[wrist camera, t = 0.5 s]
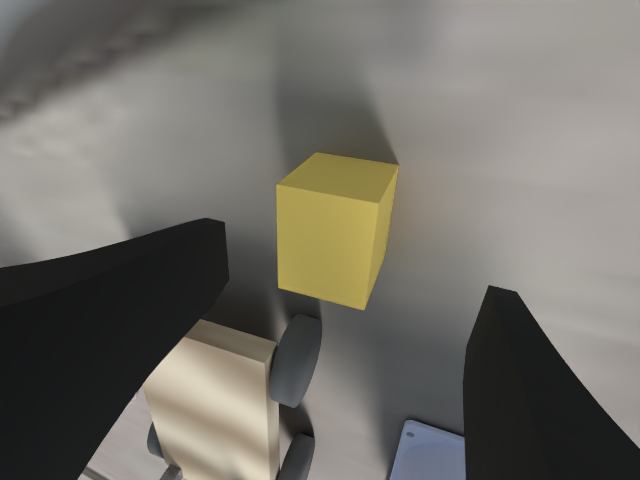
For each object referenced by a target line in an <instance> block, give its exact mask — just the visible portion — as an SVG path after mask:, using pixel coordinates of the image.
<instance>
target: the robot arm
mask: <svg viewBox="0 0 640 480" xmlns="http://www.w3.org/2000/svg"><path fill="white" fill-rule="evenodd" d="M228 281H229V271H228V259H227V247H226V234H225V222H222V221H217V220H213V219H209V218H203V219H198V220H194V221H190V222H186V223H183V224H179V225H176V226H173V227H169V228H166V229H163V230H160V231H156V232H153V233H150V234H147V235H143V236H140V237H137V238H134V239H130V240H127V241H123V242H119V243H116V244H112V245H109V246H105V247H101V248H98V249H94V250H91V251H87V252H82V253H78V254H74V255H70V256H65V257H60V258H55V259H50V260H46V261H40V262H35V263H29V264H22V265H16V266H9V267H3V268H0V480H77V479H78V478H79V476H80V475H81V473H82V472H83V470H84V469H85V467H86V465H87V464H88V462H89V461H90V459H91V458H92V456H93V455H94V453H95V452H96V450H97V448H98V447H99V445H100V444H101V442H102V441H103V439H104V438H105V436H106V435H107V434H108V432H109V431H110V429H111V428H112V426H113V425H114V423H115V422H116V421H117V419H118V418H119V416H120V415H121V413H122V412H123V410H124V409H125V408H126V406H127V405H128V404H129V402H130V401H131V400H132V398H133V397H134V395H135V394H136V393H137V391H138V390H139V389H140V387H141V386H142V385H143V383H144V382H145V381H146V379H147V378H148V377H149V375H150V374H151V373H152V372H153V371H154V370H155V368H156V367H157V366H158V365H159V364H160V362H161V361H162V360H163V359H164V358H165V357H166V356H167V355H168V354H169V353H170V352H171V350H172V349H173V348H174V347H175V346H176V345H177V344H178V343H179V342H180V341H181V339H182V338H183V337H184V336H185V335H186V334H187V333H188V332H189V331H190V330H191V329H192V327H193V326H194V325H195V324H196V323H197V322H198V321H199V320H200V319H201V317H202V316H203V315H204V314H205V313H206V312H207V311H208V309H209V308H210V307H211V306H212V304H213V303H214V302H215V300H216V299H217V297H218V296H219V295H220V293H221V291H222V290H223V288H224V287H225V285H226V284H227V282H228ZM463 410H464V437H462V436H459V435H456V434H453V433H450V432H447V431H444V430H441V429H438V428H435V427H432V426H429V425H426V424H423V423H420V422H417V421H414V420H407V421H405V423H404V427H403V430H402V434H401V438H400V442H399V446H398V449H397V453H396V457H395V461H394V465H393V468H392V472H391V476H390V480H640V449H639V448H638V446H637V445H636V444H635V443H634V442H633V441H632V440H631V439H630V438H629V437H628V436H627V435H626V434H625V432H624V431H623V430H622V429H621V428H620V427H619V426H618V425H617V424H616V423H615V422H614V421H613V420H612V418H611V417H610V416H609V415H608V414H607V413H606V412H605V410H604V409H603V408H602V407H601V406H600V405H599V403H598V402H597V401H596V400H595V399H594V397H593V396H592V395H591V394H590V392H589V391H588V390H587V389H586V388H585V386H584V385H583V384H582V383H581V381H580V380H579V379H578V378H577V377H576V375H575V374H574V373H573V371H572V370H571V369H570V367H569V366H568V365H567V364H566V362H565V361H564V360H563V358H562V357H561V356H560V354H559V353H558V351H557V350H556V349H555V347H554V346H553V345H552V343H551V342H550V340H549V339H548V337H547V336H546V335H545V333H544V332H543V330H542V329H541V327H540V326H539V324H538V323H537V321H536V320H535V319H534V317H533V316H532V314H531V313H530V311H529V310H528V308H527V307H526V305H525V304H524V302H523V300H522V299H521V298H520V296H519V295H518V293H517V292H515V291H511V290H507V289H503V288H499V287H494V286H490V285H489V286H488V289H487V292H486V294H485V297H484V300H483V303H482V305H481V308H480V311H479V314H478V316H477V319H476V322H475V325H474V327H473V330H472V333H471V336H470V338H469V341H468V344H467V347H466V356H465V366H464V377H463Z"/></svg>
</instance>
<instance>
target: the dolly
mask: <svg viewBox="0 0 640 480" xmlns="http://www.w3.org/2000/svg"><path fill="white" fill-rule="evenodd" d="M321 338H322V323H321V321H320V320H319V319H315V318H312V317H308V316H305V315H301V314H298V315H296V316H295V317H294V318H293V319H292V320H291V321H290V323H289V324H288V326H287V328H286V330H285V332H284V334H283V336H282V338H281V341H280V343H279V346H278V345H277V342H274V341H270V340H267V339H264V338H261V337H257V336H254V335H251V334H248V333H245V332H241V331H238V330H235V329H232V328H228V327H225V326H222V325H219V324H215V323H212V322H209V321H206V320H202V319H200V320H199V321H198V322H197V323H196V324H195V325H194V326H193V327H192V329H191V330H190V331H189V332H188V333H187V334H186V335H185V336H184V337H183V338H182V339H181V341H180V342H179V343H178V344H177V345H176V346H175V347H174V348H173V349H172V350H171V352H170V353H169V354H168V355H167V356H166V357H165V358H164V359H163V360H162V361H161V362H160V364H159V365H158V366H157V367H156V368H155V370H154V371H153V372H152V373H151V374H150V375H149V377H148V378H147V379H146V381H145V382H144V383H143V385H142V386H143V390H144V393H145V396H146V400H147V403H148V406H149V410H150V413H151V416H152V420H153V422H152V424H151V427H150V430H149V434H148V440H147V446H148V450H149V452H150V453H152V454H154V455H156V456H158V457H161V458H163V459H164V460H165V463H166V466H167V470H166V471H165V472H164V474H163V475H162V477H161V478H160V480H181V479H182V477H184V478H187V479H189V480H307V477H308V473H309V470H310V466H311V462H312V458H313V453H314V447H315V439H314V438H312V437H309V436H306V435H303V434H301V433H298V434H297V435H296V436H295V437H294V439H293V441H292V443H291V445H290V447H289V449H288V451H287V454H286V456H285V459H284V461H283V464H282V467H281V470H280V453H279V403H281V404H284V405H287V406H289V407H292V408H295V407H297V406H298V405H299V403H300V402H301V400H302V399H303V397H304V395H305V393H306V391H307V388H308V386H309V384H310V381H311V378H312V375H313V372H314V369H315V366H316V363H317V359H318V355H319V350H320V345H321Z"/></svg>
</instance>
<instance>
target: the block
mask: <svg viewBox="0 0 640 480" xmlns="http://www.w3.org/2000/svg"><path fill="white" fill-rule="evenodd" d="M398 169H399V165H396V164H389V163H383V162H376V161H370V160H363V159H357V158H351V157H344V156H338V155H331V154H325V153H318V152H316V153H314V154H313V155H312V156H311V157H309V158H308V159H307V160H306V161H305V162H303V163H302V164H301V165H300V166H298V167H297V168H296V169H295V170H294V171H292V172H291V173H290V174H289V175H287V176H286V177H285V178H284V179H283V180H281V181H280V182H279V183H278V184H276V194H277V254H278V288H281V289H285V290H288V291H292V292H296V293H300V294H303V295H307V296H311V297H315V298H319V299H322V300H326V301H330V302H334V303H337V304H341V305H345V306H349V307H352V308H356V309H360V310H365V307H366V305H367V302H368V299H369V297H370V294H371V291H372V289H373V286H374V284H375V281H376V278H377V276H378V273H379V271H380V268H381V265H382V263H383V260H384V258H385V251H386V245H387V239H388V232H389V226H390V220H391V214H392V207H393V201H394V195H395V188H396V182H397V176H398Z"/></svg>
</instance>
